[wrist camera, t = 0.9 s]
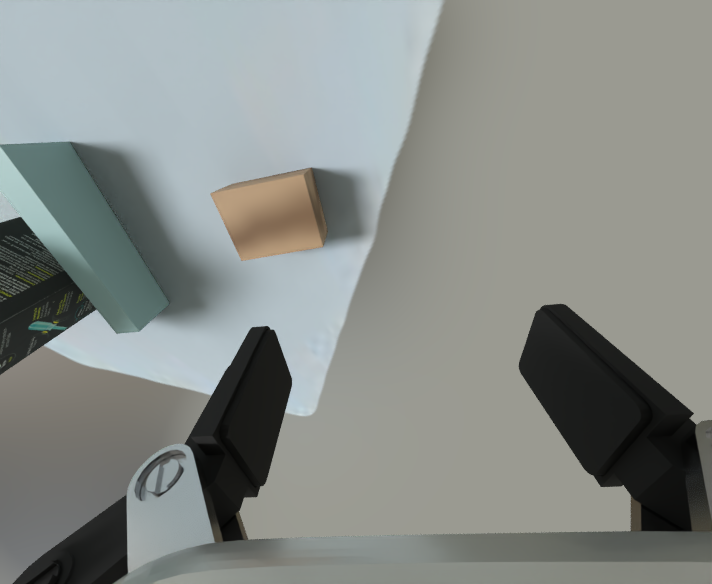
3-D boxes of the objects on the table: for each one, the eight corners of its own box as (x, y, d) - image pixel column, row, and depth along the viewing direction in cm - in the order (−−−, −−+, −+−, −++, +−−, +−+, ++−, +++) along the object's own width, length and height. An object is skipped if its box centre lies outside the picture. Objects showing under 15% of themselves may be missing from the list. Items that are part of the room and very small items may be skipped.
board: (42, 145, 26) (-34, 149, 21) (69, 141, 26) (-2, 144, 21) (150, 305, 37) (116, 333, 32) (169, 303, 36) (139, 331, 31)
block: (232, 183, 28) (210, 193, 24) (312, 167, 27) (303, 174, 23) (257, 243, 32) (241, 260, 28) (327, 230, 31) (323, 246, 27)
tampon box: (32, 211, 30) (-201, 270, 17) (117, 260, 33) (-27, 339, 21) (19, 273, 34) (-173, 355, 22) (95, 311, 37) (-34, 400, 25)
